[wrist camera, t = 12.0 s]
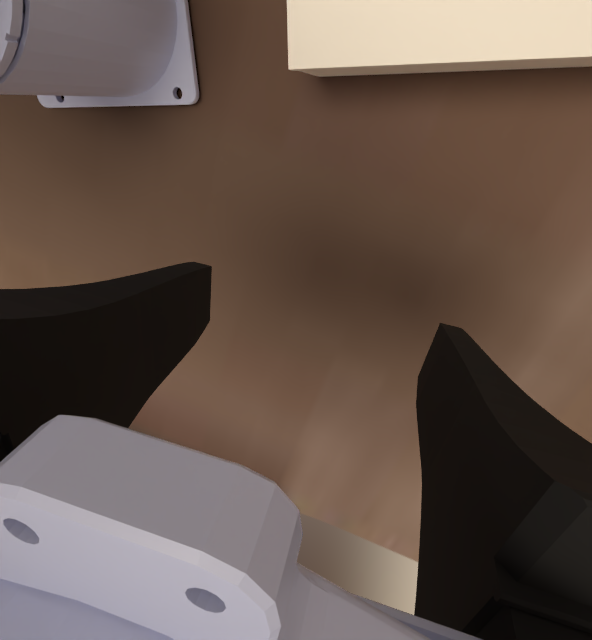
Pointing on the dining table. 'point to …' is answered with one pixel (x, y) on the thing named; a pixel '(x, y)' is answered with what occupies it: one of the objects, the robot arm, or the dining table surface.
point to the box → (453, 67)
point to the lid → (434, 32)
